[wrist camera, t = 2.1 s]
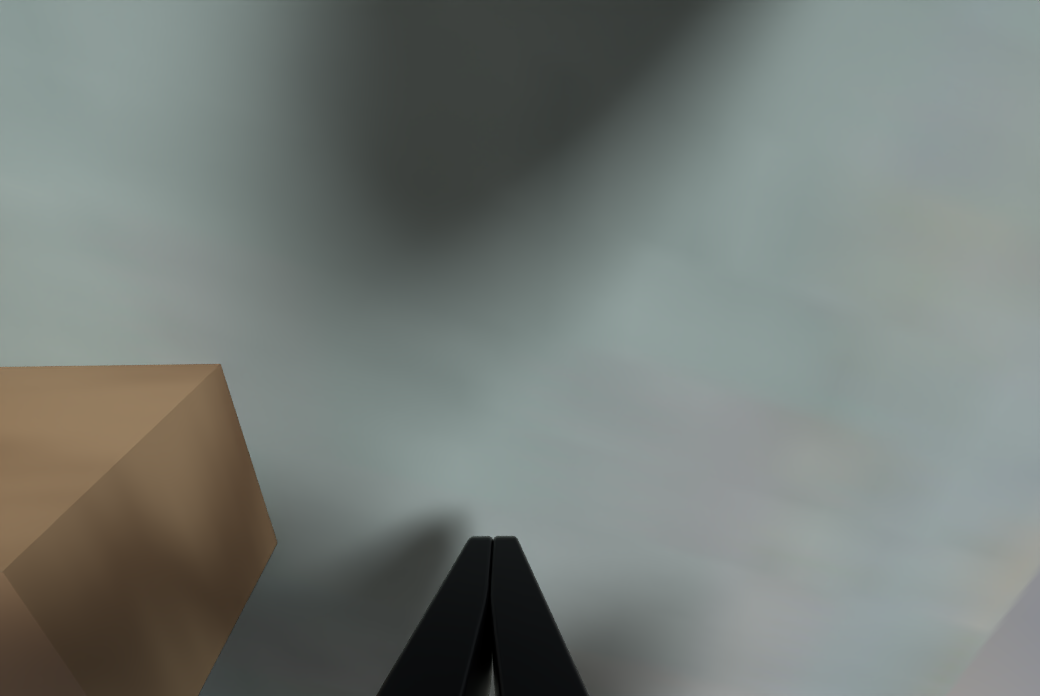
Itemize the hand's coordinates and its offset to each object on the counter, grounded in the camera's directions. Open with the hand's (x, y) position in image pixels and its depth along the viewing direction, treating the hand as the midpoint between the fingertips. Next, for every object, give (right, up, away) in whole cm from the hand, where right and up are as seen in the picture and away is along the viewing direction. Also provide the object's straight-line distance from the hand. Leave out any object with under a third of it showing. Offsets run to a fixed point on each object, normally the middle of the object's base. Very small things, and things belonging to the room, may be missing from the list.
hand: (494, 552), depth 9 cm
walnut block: (-8, +1, +2) cm, 8 cm away
